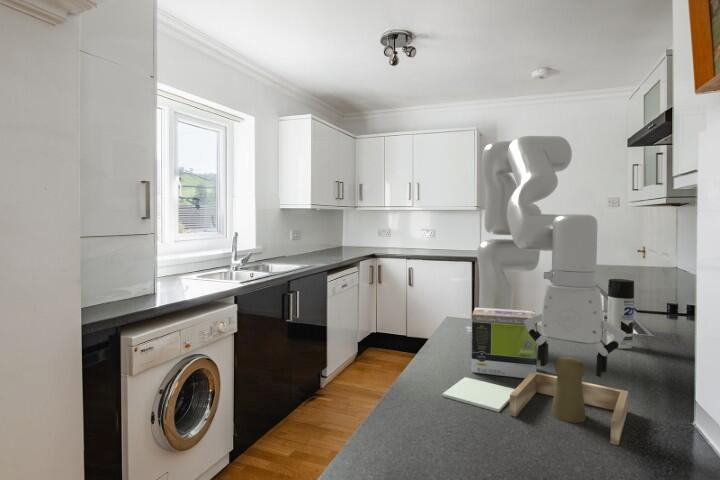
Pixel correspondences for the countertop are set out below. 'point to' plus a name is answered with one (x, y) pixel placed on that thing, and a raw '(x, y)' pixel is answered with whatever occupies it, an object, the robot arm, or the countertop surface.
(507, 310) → the tea box
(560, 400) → the cork
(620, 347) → the spray can
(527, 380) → the wooden u-shaped frame
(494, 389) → the mat
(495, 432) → the countertop surface
